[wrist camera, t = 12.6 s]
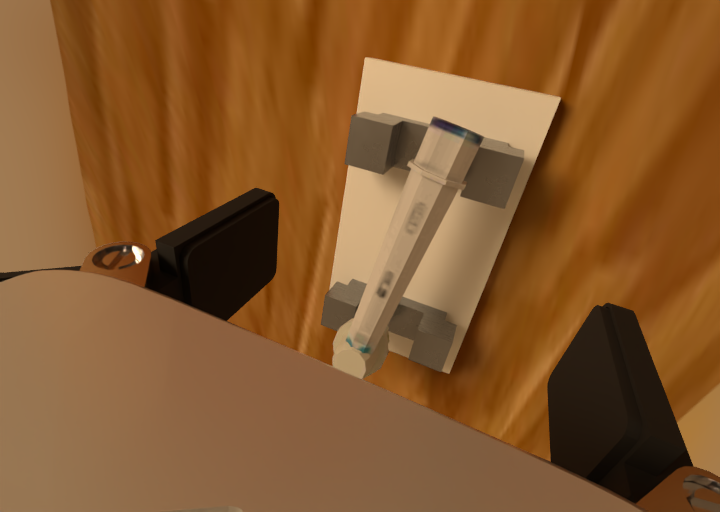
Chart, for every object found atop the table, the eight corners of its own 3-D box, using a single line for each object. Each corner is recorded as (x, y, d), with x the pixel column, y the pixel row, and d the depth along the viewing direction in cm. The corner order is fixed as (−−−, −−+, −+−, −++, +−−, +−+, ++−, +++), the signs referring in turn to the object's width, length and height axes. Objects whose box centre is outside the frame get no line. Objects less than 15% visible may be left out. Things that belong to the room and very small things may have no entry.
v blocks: (370, 109, 34) (351, 115, 30) (524, 146, 31) (524, 158, 27) (337, 302, 45) (320, 324, 41) (448, 344, 42) (441, 372, 38)
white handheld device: (495, 142, 24) (359, 413, 34) (494, 139, 30) (379, 369, 40) (418, 111, 25) (308, 384, 35) (433, 114, 31) (335, 346, 41)
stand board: (370, 57, 34) (365, 57, 32) (559, 96, 30) (561, 98, 29) (329, 317, 49) (324, 324, 47) (451, 365, 45) (449, 374, 44)
